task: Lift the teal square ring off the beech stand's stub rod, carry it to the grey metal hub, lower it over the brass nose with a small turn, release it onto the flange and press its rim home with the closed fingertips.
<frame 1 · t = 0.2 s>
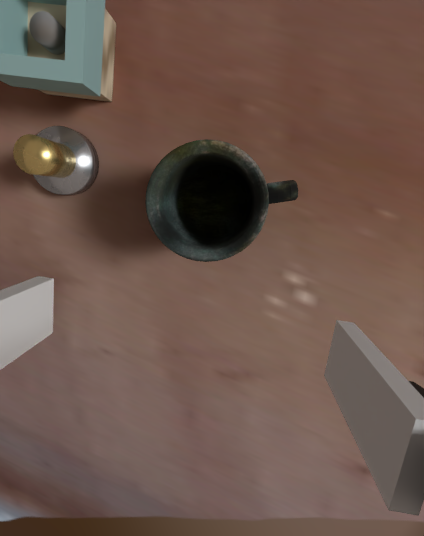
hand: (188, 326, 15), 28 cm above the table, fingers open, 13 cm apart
mug: (228, 200, 41), on the table
teal square ring: (56, 39, 34), point 5 cm above the table, touching stand
stand: (79, 60, 39), on the table
hub: (68, 162, 41), on the table
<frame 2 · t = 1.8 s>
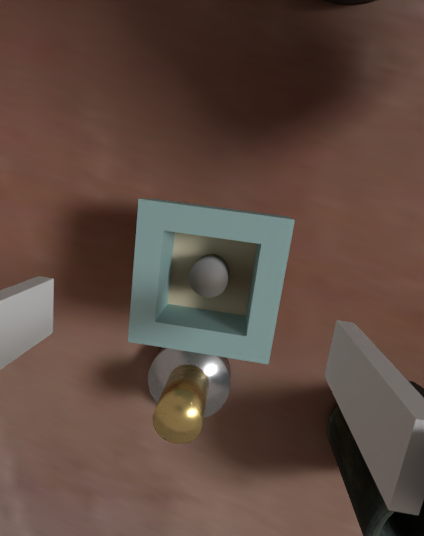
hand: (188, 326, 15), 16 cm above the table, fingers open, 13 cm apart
mug: (395, 422, 32), on the table
teal square ring: (211, 271, 25), point 5 cm above the table, touching stand
stand: (216, 259, 30), on the table
hub: (191, 372, 33), on the table
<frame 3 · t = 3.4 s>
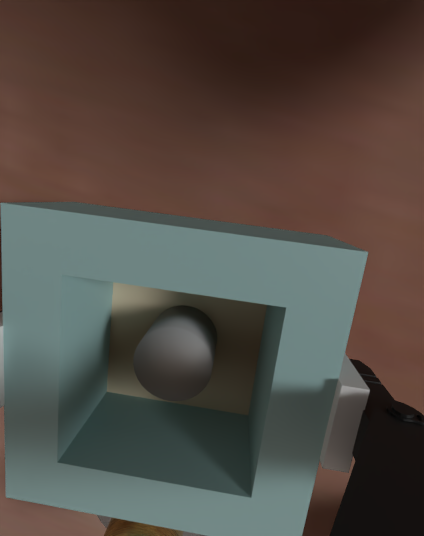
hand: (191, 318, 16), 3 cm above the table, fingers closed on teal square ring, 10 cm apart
teal square ring: (184, 336, 14), point 5 cm above the table, touching gripper, stand
stand: (198, 300, 18), on the table
hub: (162, 471, 21), on the table
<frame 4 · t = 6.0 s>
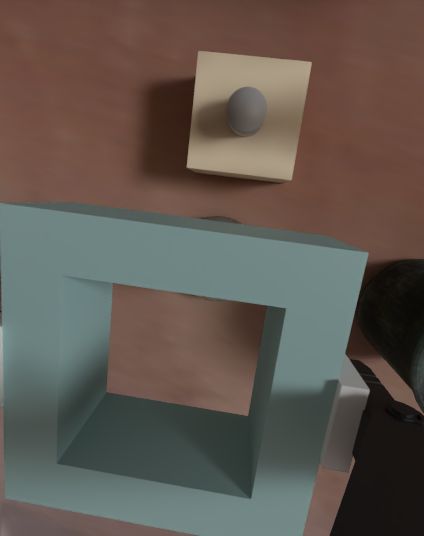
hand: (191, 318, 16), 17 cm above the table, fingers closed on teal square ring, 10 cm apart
teal square ring: (183, 337, 14), point 19 cm above the table, touching gripper
stand: (245, 130, 29), on the table
when the fingers open (2 cm above the table, at t = 8.7 s): teal square ring drops 3 cm, resting on hub.
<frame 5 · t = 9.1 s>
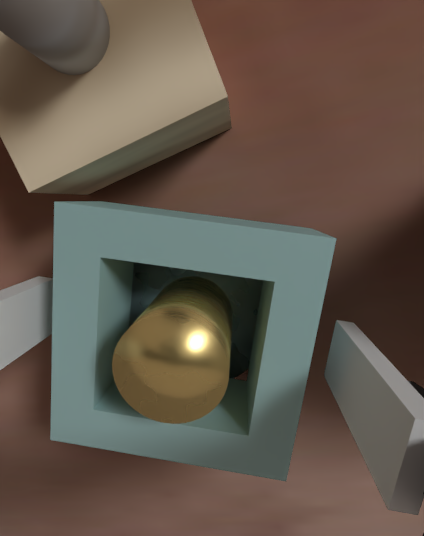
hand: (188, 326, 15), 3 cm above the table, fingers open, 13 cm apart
teal square ring: (192, 314, 16), point 2 cm above the table, touching hub
stand: (122, 82, 16), on the table
hub: (198, 302, 18), on the table
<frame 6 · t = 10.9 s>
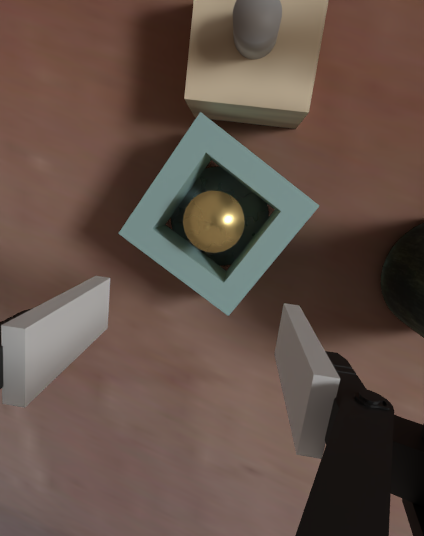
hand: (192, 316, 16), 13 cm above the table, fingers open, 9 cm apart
teal square ring: (219, 217, 26), point 2 cm above the table, touching hub
stand: (252, 66, 26), on the table
hub: (220, 216, 28), on the table
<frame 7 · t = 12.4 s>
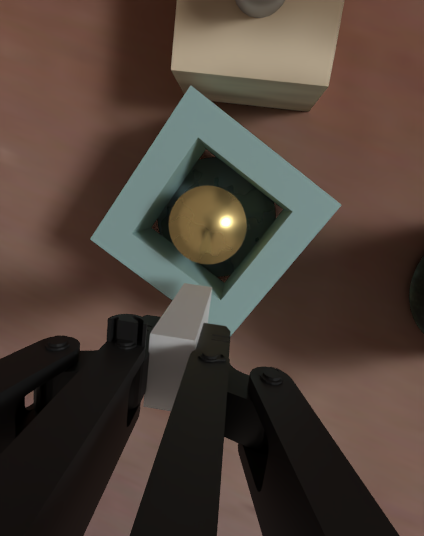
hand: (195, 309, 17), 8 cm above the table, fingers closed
teal square ring: (215, 218, 22), point 2 cm above the table, touching hub
stand: (256, 35, 21), on the table
hub: (217, 217, 24), on the table
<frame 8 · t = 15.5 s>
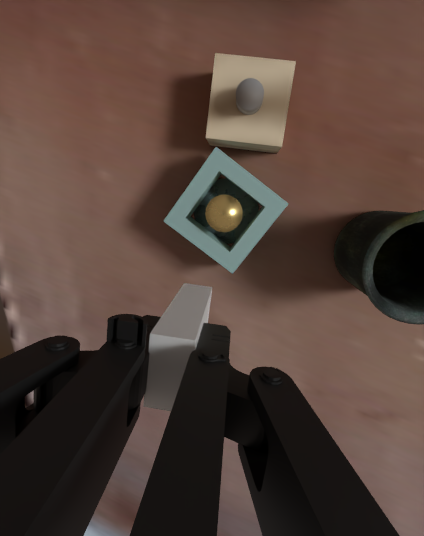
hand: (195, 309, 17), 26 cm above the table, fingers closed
mug: (386, 248, 41), on the table
teal square ring: (226, 211, 40), point 2 cm above the table, touching hub
stand: (248, 113, 39), on the table
hub: (226, 211, 42), on the table
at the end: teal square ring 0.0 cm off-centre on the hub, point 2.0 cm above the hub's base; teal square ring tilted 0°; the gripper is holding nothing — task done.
